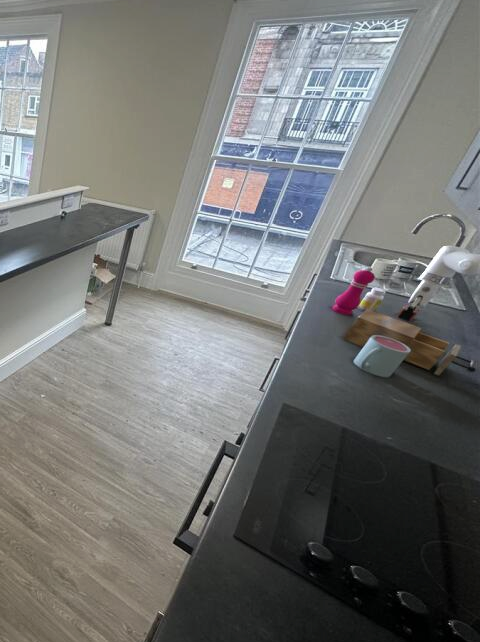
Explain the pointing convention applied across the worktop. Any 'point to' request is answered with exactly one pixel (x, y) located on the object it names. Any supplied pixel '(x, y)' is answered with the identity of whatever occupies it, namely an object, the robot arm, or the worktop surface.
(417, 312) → the block
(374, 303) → the supplement bottle
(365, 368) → the mug
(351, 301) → the pepper mill
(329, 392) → the worktop surface
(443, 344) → the drawer
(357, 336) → the cabinet
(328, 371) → the worktop surface
